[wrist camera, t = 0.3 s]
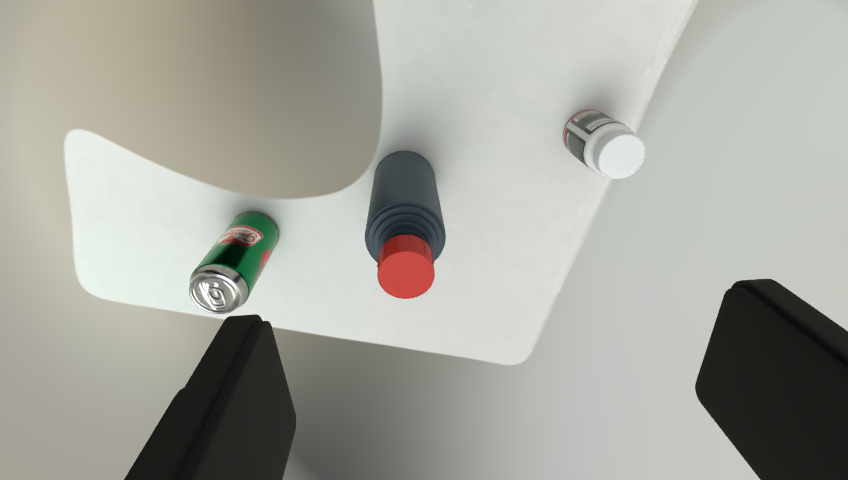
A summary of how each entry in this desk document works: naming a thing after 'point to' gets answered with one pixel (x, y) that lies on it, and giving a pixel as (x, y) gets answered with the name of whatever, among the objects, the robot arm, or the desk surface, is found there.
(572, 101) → the desk surface
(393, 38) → the desk surface
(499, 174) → the desk surface
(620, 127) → the pill bottle
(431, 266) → the cap
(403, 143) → the desk surface
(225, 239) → the soda can
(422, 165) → the bottle
